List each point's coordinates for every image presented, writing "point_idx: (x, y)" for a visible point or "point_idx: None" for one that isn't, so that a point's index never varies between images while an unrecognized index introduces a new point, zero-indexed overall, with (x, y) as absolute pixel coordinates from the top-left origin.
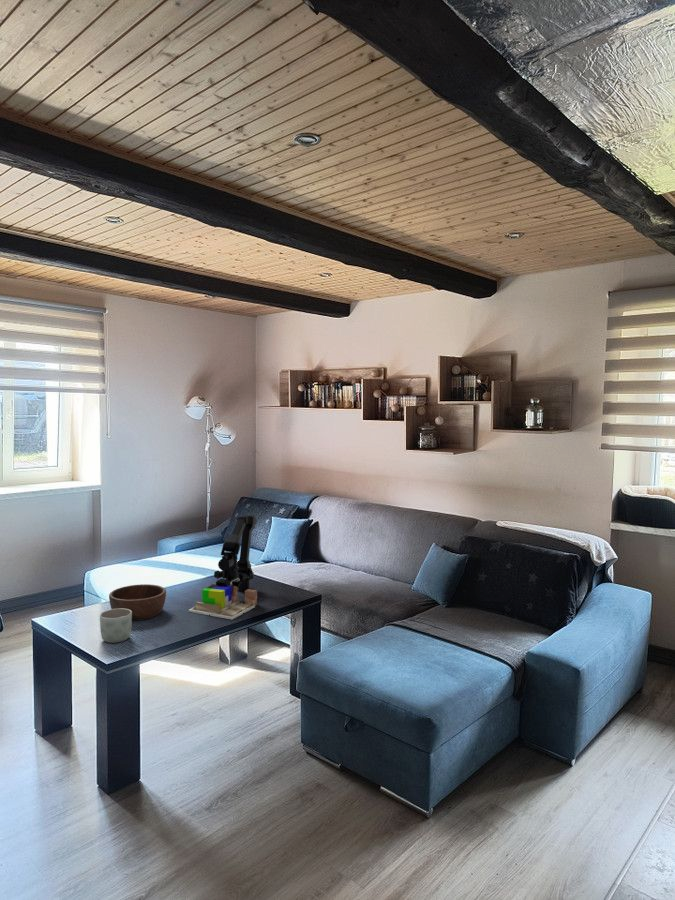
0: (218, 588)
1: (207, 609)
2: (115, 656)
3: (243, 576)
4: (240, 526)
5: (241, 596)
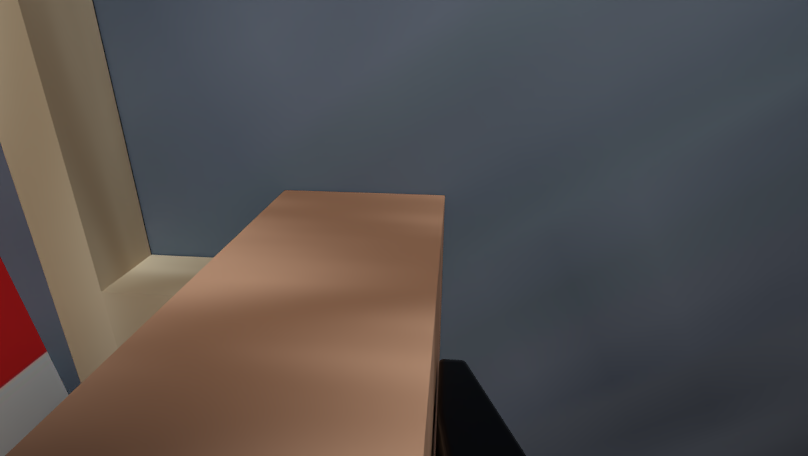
0: None
1: None
2: None
3: None
4: None
5: (773, 358)
